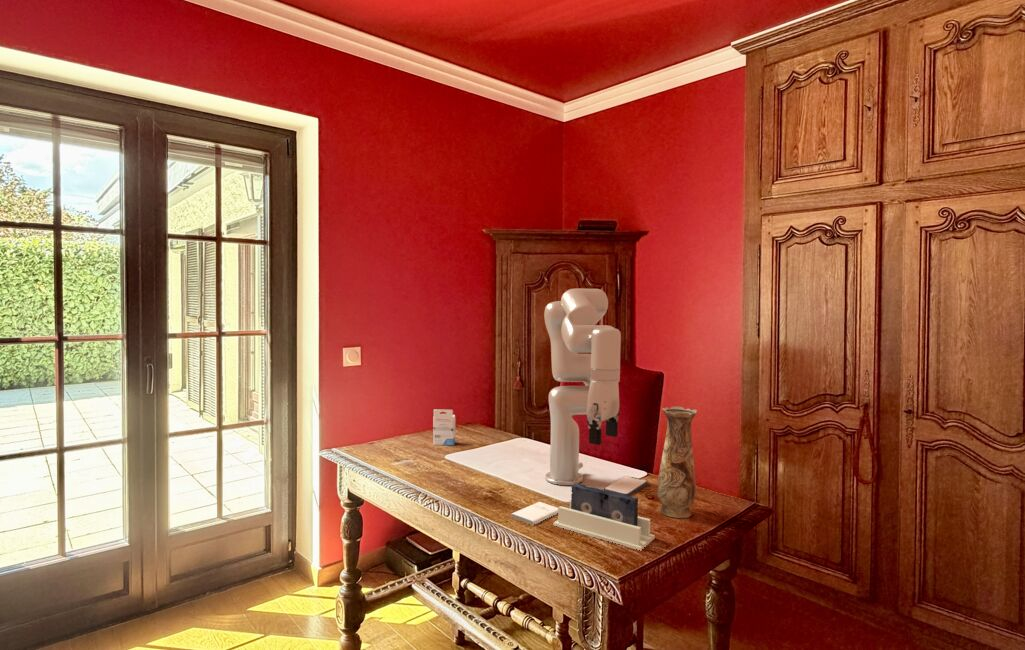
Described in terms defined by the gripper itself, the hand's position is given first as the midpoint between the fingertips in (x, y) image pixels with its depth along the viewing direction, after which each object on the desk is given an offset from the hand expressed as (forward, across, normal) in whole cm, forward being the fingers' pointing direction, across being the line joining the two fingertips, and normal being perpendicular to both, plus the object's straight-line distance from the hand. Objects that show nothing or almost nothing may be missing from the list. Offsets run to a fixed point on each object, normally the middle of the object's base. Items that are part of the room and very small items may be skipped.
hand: (603, 439), depth 148 cm
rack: (+24, +1, +1) cm, 24 cm away
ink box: (+26, -38, -90) cm, 101 cm away
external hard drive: (+25, +2, -20) cm, 32 cm away
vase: (+25, -24, +12) cm, 37 cm away
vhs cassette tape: (+24, 0, +1) cm, 24 cm away
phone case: (+25, -35, -8) cm, 44 cm away
